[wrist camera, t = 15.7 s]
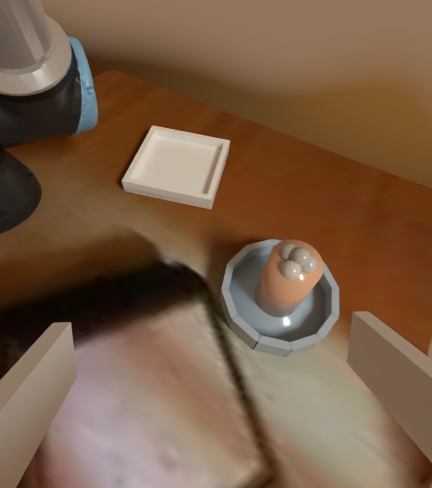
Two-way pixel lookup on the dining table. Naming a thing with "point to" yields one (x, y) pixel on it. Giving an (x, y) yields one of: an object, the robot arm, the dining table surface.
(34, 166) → the dining table surface
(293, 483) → the dining table surface
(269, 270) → the pebble cup
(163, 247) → the dining table surface
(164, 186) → the tray
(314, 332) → the bowl
